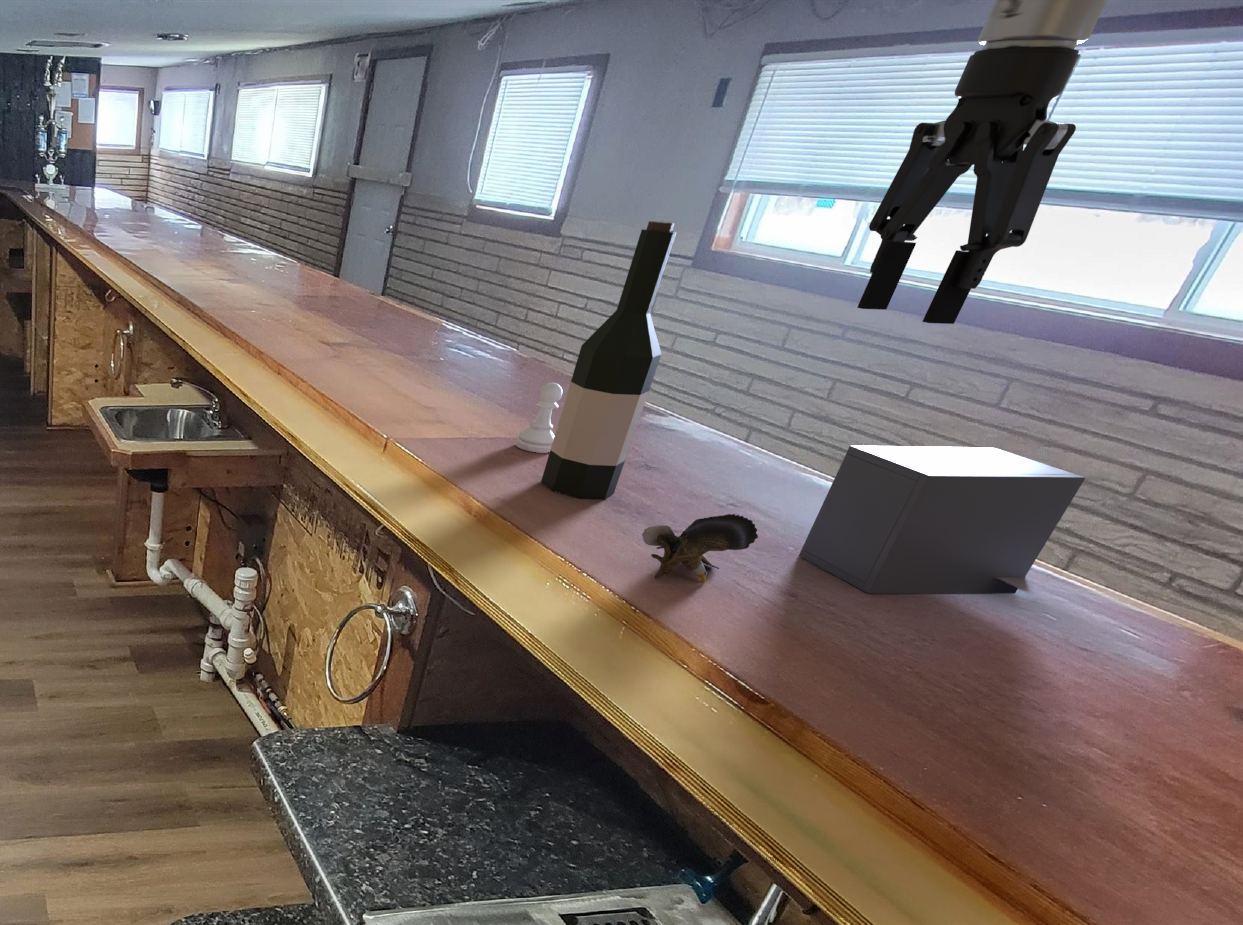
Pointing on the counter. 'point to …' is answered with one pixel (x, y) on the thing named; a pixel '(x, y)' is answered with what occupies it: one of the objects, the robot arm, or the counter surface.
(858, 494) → the grey cardboard box
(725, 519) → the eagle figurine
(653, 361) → the wine bottle
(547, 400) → the chess pawn
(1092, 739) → the counter surface
